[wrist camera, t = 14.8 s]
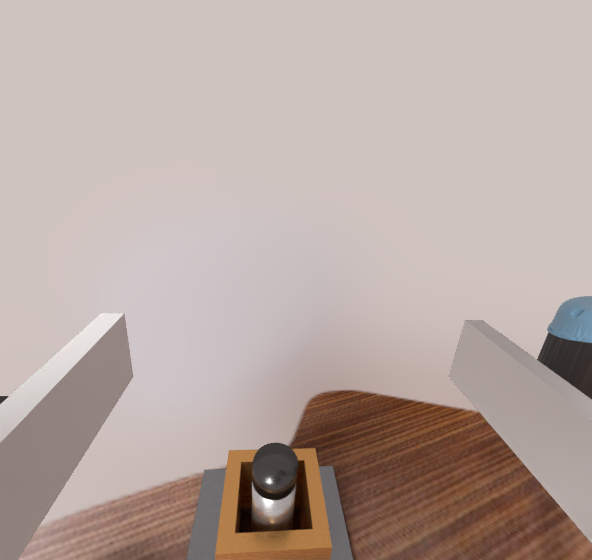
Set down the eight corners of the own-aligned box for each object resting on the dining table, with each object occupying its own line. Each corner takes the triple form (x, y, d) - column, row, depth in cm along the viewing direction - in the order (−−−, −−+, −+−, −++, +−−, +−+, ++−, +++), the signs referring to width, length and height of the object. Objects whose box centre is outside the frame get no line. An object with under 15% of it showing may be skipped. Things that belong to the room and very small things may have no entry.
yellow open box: (331, 471, 40) (338, 423, 37) (370, 655, 25) (387, 598, 22) (204, 475, 38) (202, 425, 35) (164, 676, 23) (155, 617, 20)
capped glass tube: (288, 525, 33) (296, 442, 29) (291, 570, 30) (300, 482, 26) (251, 527, 33) (253, 443, 29) (249, 573, 29) (251, 484, 25)
